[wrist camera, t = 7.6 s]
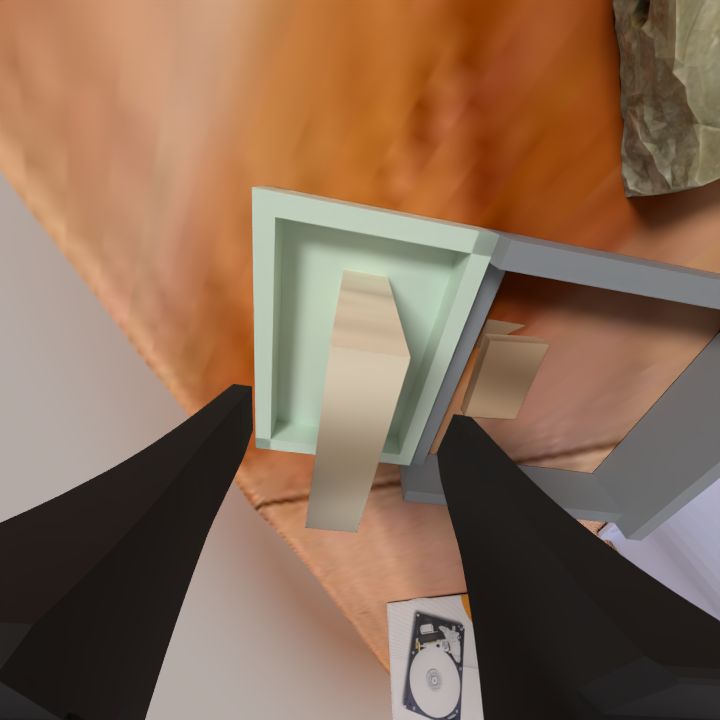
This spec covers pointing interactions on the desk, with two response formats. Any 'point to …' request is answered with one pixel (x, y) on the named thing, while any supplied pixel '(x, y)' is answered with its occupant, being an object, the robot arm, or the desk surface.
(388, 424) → the panel
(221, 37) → the desk surface
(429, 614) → the hard drive box
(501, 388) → the offcut
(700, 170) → the decorative tile
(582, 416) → the desk surface
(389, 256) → the tray
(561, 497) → the grey shallow square frame
